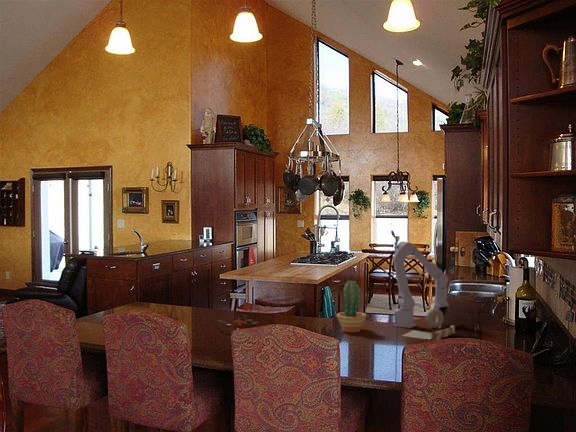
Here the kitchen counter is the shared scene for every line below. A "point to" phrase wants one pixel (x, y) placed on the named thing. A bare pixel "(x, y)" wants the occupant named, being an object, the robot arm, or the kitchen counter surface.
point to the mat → (418, 334)
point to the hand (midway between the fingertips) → (441, 321)
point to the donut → (431, 314)
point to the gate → (442, 333)
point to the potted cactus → (351, 308)
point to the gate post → (453, 329)
